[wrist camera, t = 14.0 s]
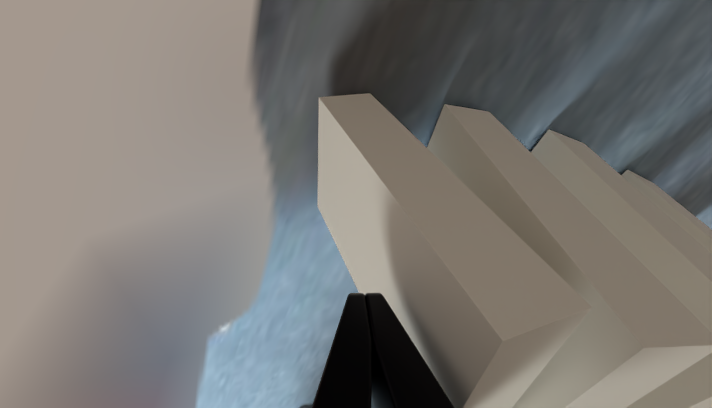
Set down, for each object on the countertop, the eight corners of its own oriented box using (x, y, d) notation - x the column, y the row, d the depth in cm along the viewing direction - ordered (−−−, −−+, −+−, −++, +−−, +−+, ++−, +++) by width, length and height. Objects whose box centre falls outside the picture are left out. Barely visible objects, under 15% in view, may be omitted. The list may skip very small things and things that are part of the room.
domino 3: (584, 143, 16) (846, 370, 8) (512, 225, 18) (653, 451, 11) (549, 129, 15) (792, 358, 7) (480, 215, 18) (604, 447, 10)
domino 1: (369, 92, 13) (592, 307, 6) (359, 198, 17) (500, 421, 9) (318, 97, 13) (502, 340, 6) (317, 206, 16) (436, 452, 9)
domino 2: (489, 111, 14) (723, 344, 7) (442, 207, 17) (568, 443, 10) (444, 104, 14) (644, 347, 6) (404, 204, 17) (506, 451, 9)
